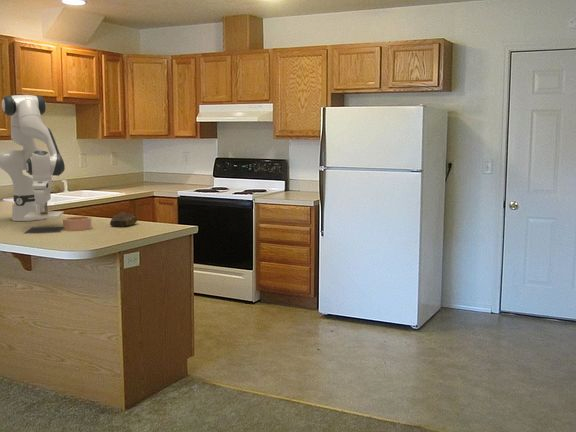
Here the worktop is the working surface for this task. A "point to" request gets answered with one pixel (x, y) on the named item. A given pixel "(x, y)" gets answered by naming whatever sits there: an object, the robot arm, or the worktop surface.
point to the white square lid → (44, 214)
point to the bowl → (77, 223)
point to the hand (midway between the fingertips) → (44, 211)
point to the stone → (123, 220)
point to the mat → (44, 230)
